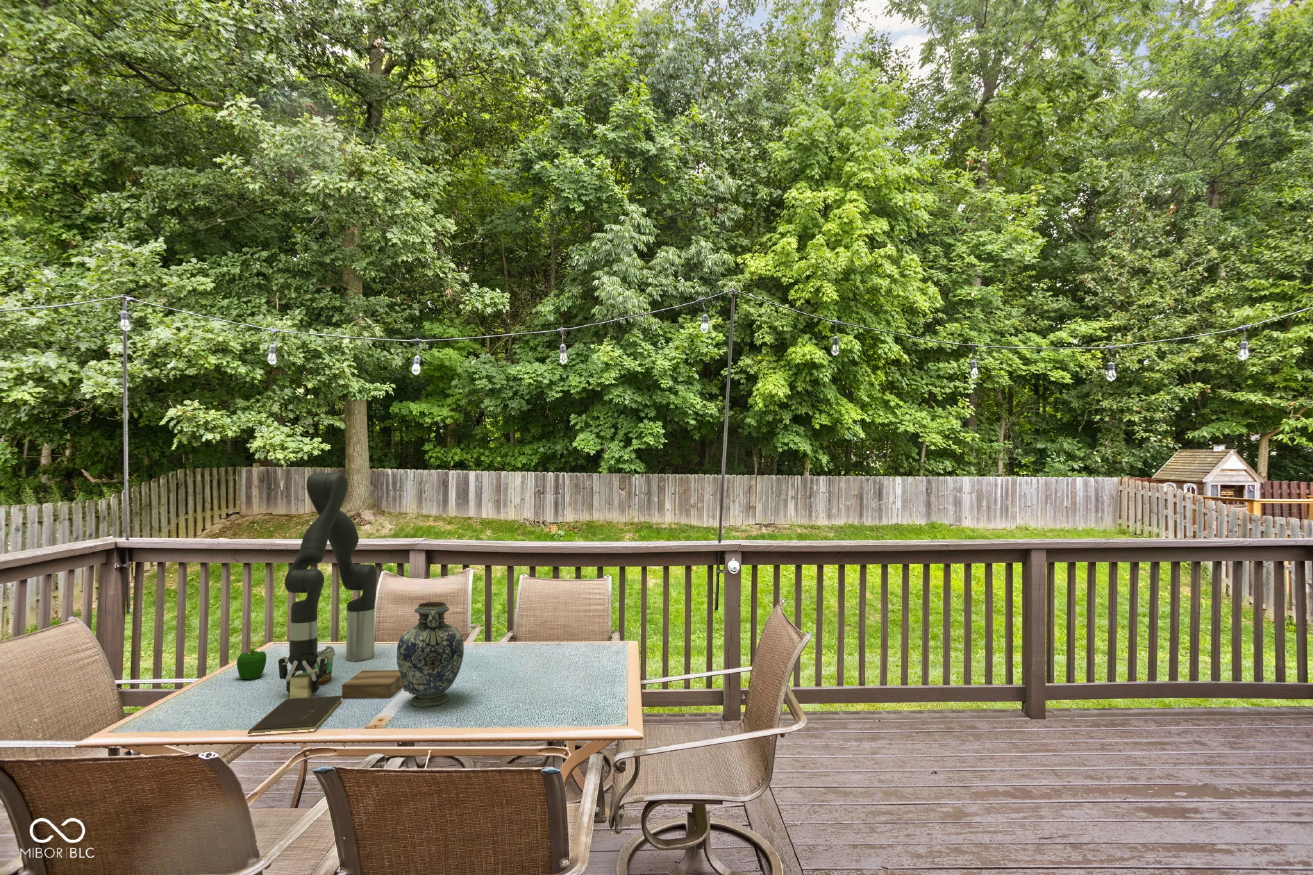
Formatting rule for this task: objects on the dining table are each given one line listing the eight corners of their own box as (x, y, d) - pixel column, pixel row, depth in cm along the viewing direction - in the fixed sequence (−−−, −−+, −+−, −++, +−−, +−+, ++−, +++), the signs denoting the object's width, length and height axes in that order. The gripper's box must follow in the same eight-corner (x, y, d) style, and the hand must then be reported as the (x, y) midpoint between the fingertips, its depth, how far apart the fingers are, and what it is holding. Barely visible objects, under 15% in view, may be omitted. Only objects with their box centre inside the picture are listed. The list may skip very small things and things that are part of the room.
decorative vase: (394, 693, 201) (396, 599, 202) (458, 686, 208) (460, 595, 210) (396, 718, 181) (399, 613, 183) (467, 709, 189) (469, 608, 190)
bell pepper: (240, 675, 221) (240, 644, 221) (268, 672, 223) (268, 642, 224) (232, 683, 213) (233, 651, 213) (262, 680, 215) (262, 648, 216)
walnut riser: (362, 683, 212) (362, 670, 212) (406, 682, 212) (406, 669, 212) (341, 698, 198) (342, 684, 198) (389, 697, 198) (389, 684, 198)
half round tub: (317, 689, 206) (317, 656, 206) (299, 688, 207) (300, 655, 207) (343, 677, 218) (344, 646, 218) (326, 676, 219) (327, 645, 219)
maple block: (298, 693, 203) (298, 673, 203) (315, 692, 203) (315, 672, 203) (289, 698, 198) (290, 678, 198) (306, 698, 198) (307, 678, 198)
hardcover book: (342, 703, 195) (342, 695, 195) (314, 734, 172) (314, 725, 172) (283, 706, 193) (284, 698, 193) (247, 738, 170) (247, 729, 170)
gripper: (333, 632, 205) (332, 688, 204) (286, 633, 205) (285, 688, 204) (321, 639, 198) (320, 696, 197) (272, 639, 197) (271, 697, 197)
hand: (302, 692), depth 200 cm, fingers open, 6 cm apart
